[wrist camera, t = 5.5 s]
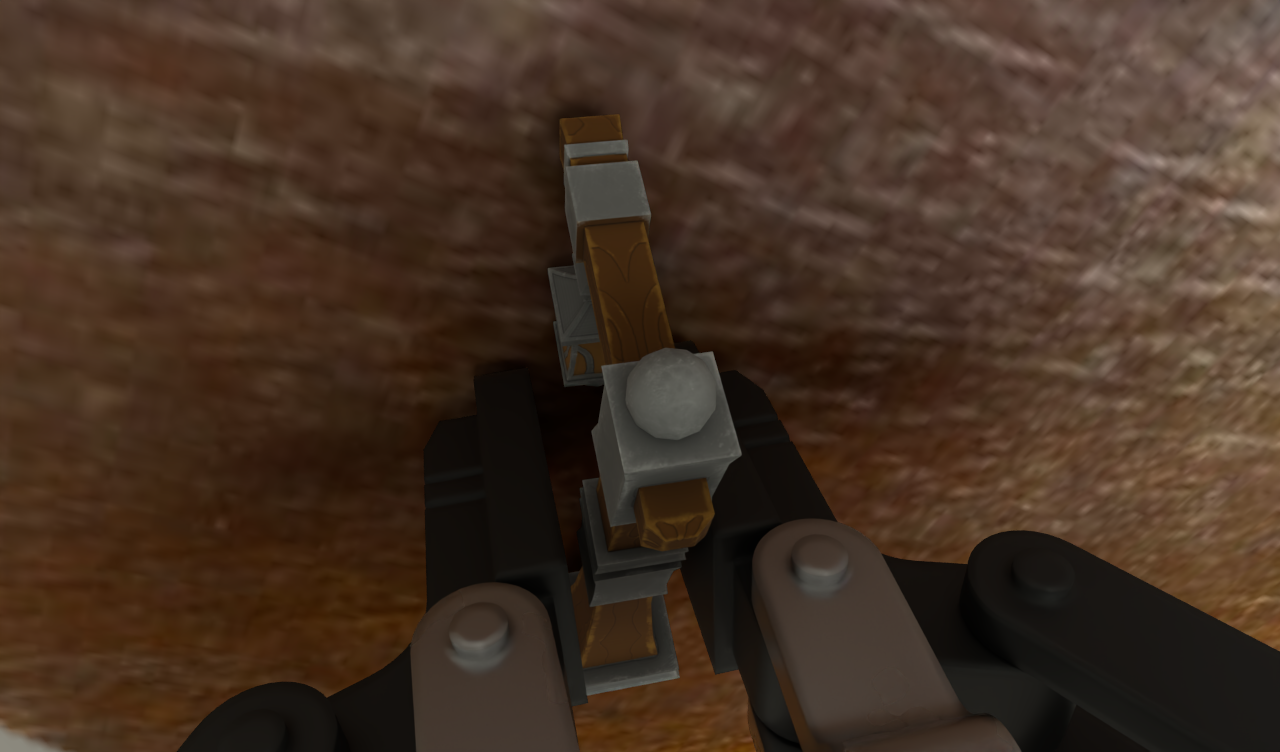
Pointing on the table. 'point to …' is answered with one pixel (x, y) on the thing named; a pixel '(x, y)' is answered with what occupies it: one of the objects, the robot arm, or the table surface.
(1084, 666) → the robot arm
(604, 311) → the wooden post with brackets
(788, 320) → the table surface
